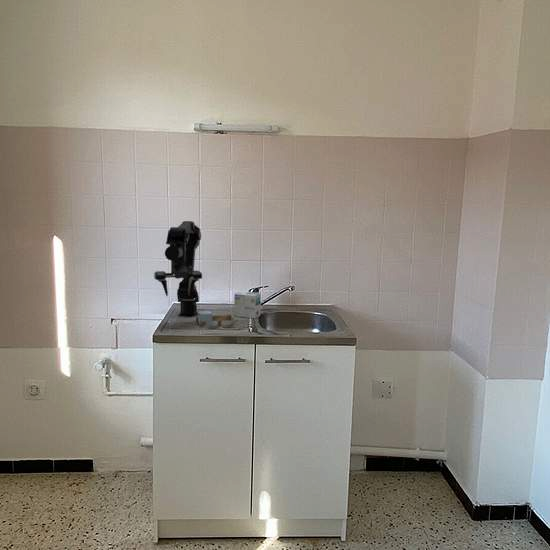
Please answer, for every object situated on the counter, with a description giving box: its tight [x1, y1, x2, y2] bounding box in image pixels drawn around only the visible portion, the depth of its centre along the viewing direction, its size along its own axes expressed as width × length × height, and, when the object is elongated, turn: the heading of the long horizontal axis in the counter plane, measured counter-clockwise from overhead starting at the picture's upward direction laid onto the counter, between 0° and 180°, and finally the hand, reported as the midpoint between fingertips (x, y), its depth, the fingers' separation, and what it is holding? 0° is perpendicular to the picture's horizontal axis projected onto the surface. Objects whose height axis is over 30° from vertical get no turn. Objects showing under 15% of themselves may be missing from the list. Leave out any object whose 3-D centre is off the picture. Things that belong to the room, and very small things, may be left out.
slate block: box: [197, 310, 213, 326], centre depth 206 cm, size 5×5×5 cm
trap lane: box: [195, 314, 238, 330], centre depth 206 cm, size 16×14×2 cm
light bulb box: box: [233, 290, 262, 319], centre depth 220 cm, size 11×7×11 cm, turn 71°
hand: (178, 295), depth 200 cm, fingers open, 9 cm apart
